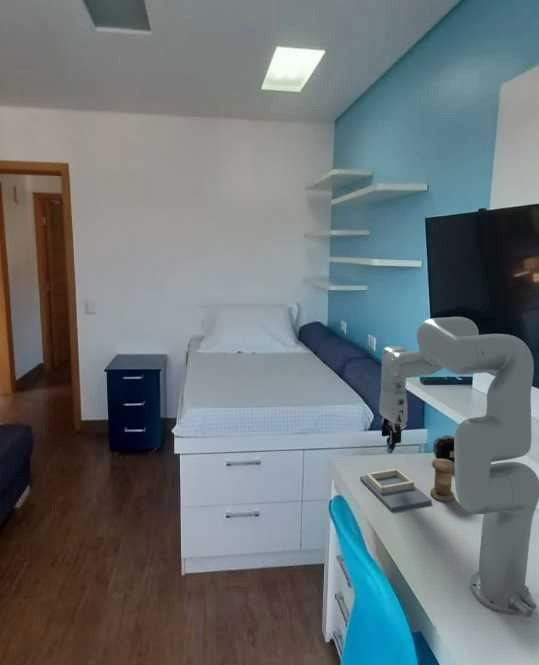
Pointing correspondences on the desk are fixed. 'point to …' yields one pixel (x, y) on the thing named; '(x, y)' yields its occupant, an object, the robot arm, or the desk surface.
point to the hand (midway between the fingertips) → (391, 438)
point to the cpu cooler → (444, 448)
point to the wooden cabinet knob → (443, 480)
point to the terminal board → (395, 489)
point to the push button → (390, 445)
